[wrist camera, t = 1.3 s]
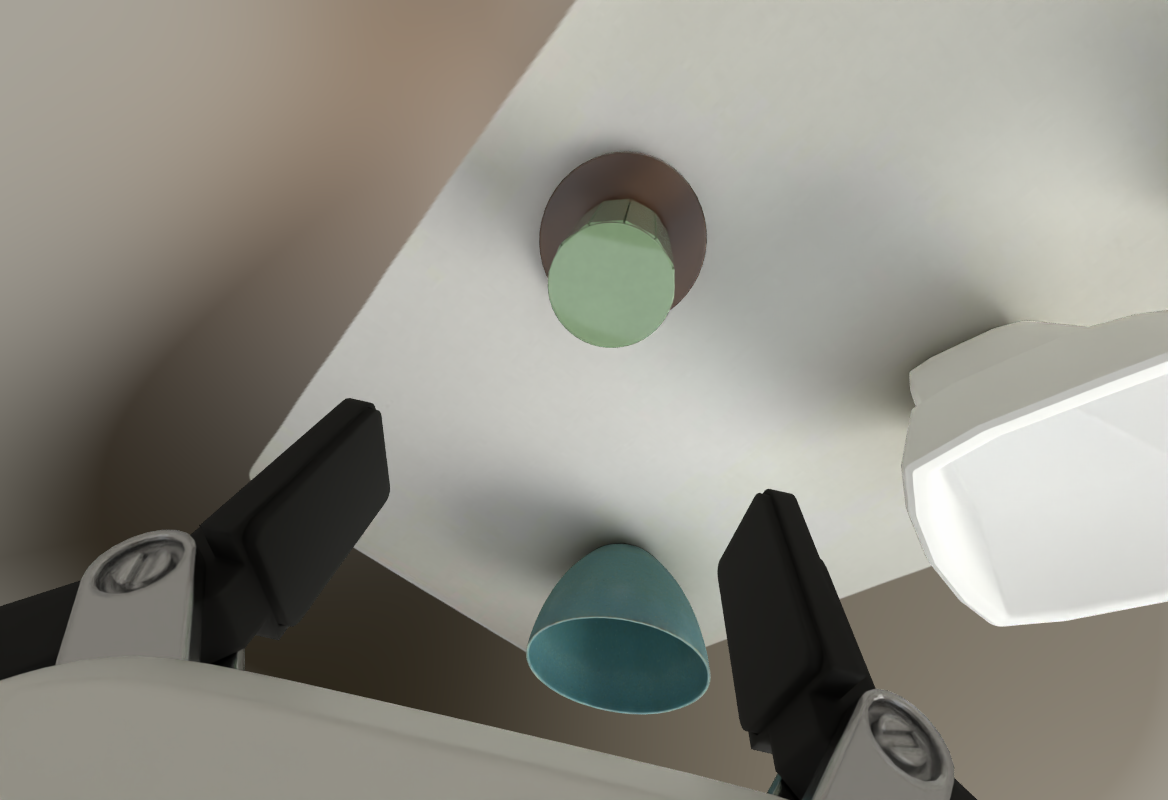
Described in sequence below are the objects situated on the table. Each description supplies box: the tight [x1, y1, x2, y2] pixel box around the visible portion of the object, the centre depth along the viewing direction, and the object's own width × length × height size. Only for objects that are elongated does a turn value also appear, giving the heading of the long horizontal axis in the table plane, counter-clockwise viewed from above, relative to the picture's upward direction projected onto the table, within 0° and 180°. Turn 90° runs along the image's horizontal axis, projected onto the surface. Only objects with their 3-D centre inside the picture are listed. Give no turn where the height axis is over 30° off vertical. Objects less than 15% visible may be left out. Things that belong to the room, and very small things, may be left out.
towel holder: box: [539, 151, 707, 310], centre depth 27 cm, size 12×12×10 cm
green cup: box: [548, 199, 675, 348], centre depth 26 cm, size 7×7×8 cm
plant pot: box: [526, 544, 710, 714], centre depth 47 cm, size 18×18×12 cm
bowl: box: [901, 310, 1168, 626], centre depth 28 cm, size 19×19×14 cm
